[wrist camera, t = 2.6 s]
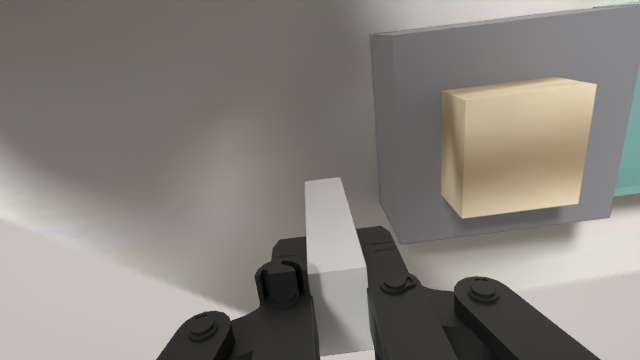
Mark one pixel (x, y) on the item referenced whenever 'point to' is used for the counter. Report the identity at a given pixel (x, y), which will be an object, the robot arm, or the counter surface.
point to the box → (630, 142)
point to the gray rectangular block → (486, 69)
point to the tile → (515, 145)
